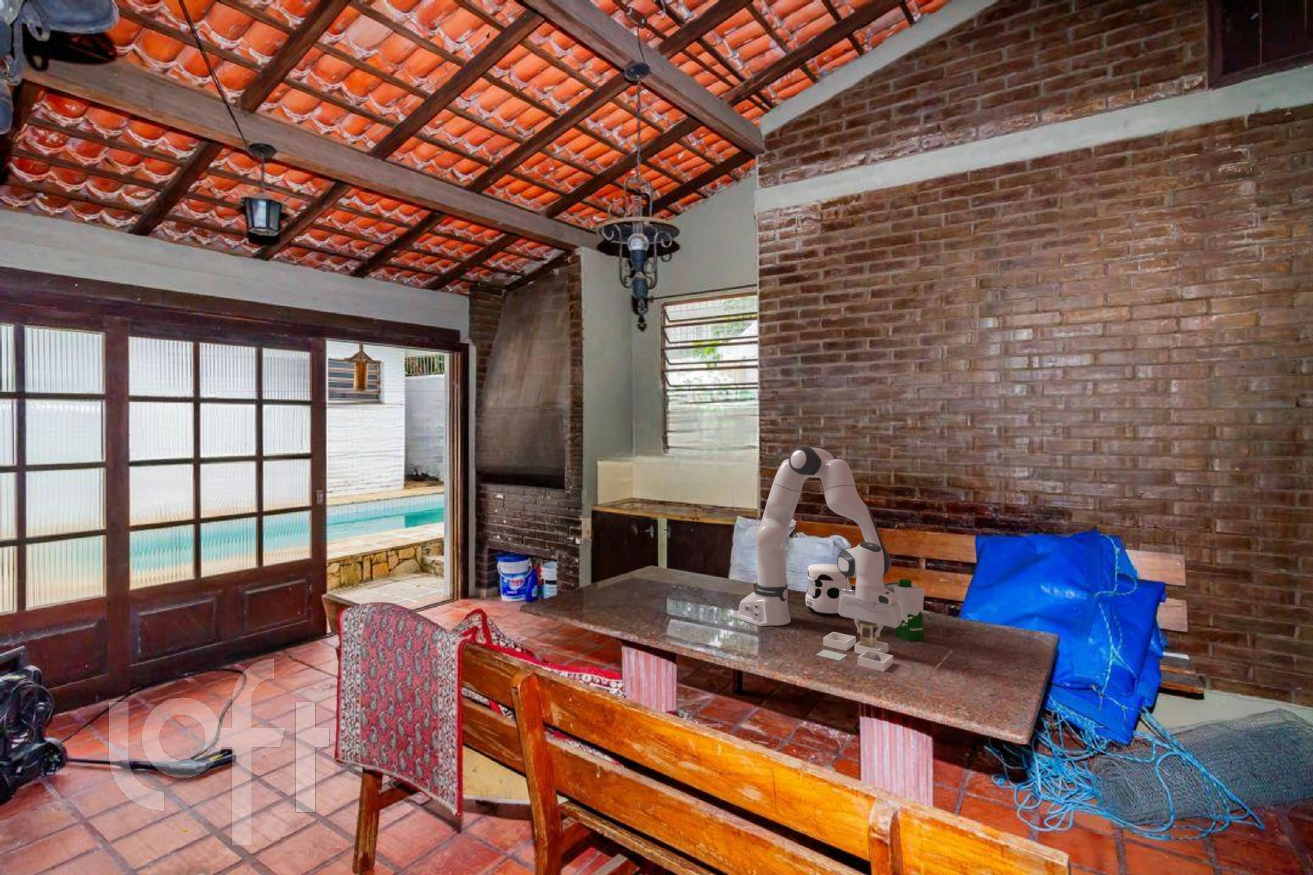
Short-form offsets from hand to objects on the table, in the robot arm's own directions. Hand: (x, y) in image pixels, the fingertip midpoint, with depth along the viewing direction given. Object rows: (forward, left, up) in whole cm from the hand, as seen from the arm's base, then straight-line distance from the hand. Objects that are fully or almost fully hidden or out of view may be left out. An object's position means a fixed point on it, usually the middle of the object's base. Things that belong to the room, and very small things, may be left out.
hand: (868, 634), depth 205 cm
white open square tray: (-10, +1, -6) cm, 12 cm away
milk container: (-30, +36, -6) cm, 47 cm away
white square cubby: (+1, +1, -6) cm, 6 cm away
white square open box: (+6, -9, -6) cm, 13 cm away
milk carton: (+6, +24, -6) cm, 25 cm away
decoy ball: (+6, -9, -4) cm, 12 cm away
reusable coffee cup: (-1, +36, -6) cm, 36 cm away
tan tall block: (0, 0, -3) cm, 3 cm away
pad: (-8, -10, -6) cm, 15 cm away
